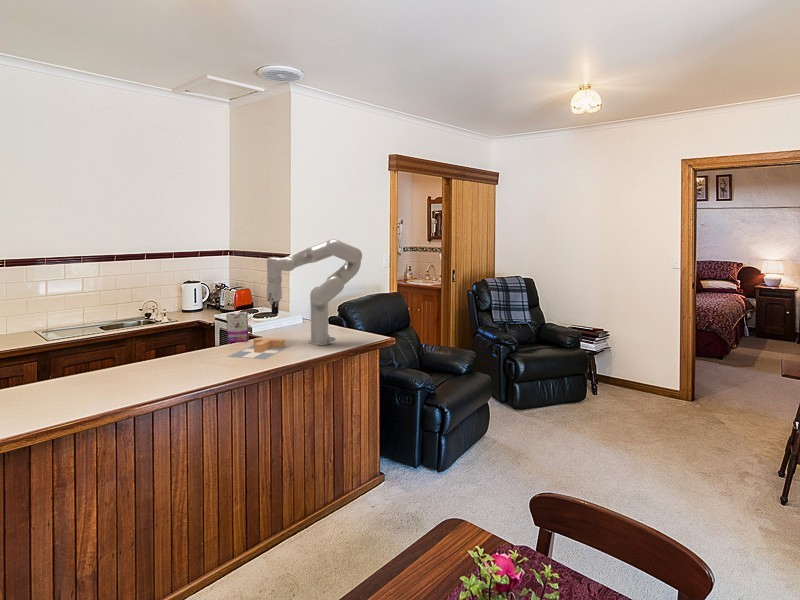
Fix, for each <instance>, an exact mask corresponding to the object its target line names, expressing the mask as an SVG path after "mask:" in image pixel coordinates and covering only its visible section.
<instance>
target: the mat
mask: <svg viewBox="0 0 800 600" xmlns="http://www.w3.org/2000/svg"><path fill="white" fill-rule="evenodd" d="M289 347H291V345H285V347H284V348H270V349H268V350H266V351H264V352H262V353H261V352H254V345H253V344H252V345H251V346H248V347H246V348H244V349H241V350H239V351H237V352H234V353H232V354H230V355H228V356H227V358H239V359H241V358H244V359H254V360H255V359H256V360H257V359H258V360H267V359H269V358H270V357H273V356H274V355H276V354H278V353H280V352H282V351H283V350H286V349H287V348H289Z"/></svg>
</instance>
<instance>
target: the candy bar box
mask: <svg viewBox="0 0 800 600" xmlns="http://www.w3.org/2000/svg"><path fill="white" fill-rule="evenodd" d="M248 315H249V314H248V312H247V311H245V312H243V311H241V312H227V313H226V333H227V334H226V335H227V337H226V338H227V339H226V341H227V344H235V343H248V342H249V319H248V318H249V317H248Z"/></svg>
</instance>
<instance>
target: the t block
mask: <svg viewBox="0 0 800 600" xmlns="http://www.w3.org/2000/svg"><path fill="white" fill-rule="evenodd" d="M252 341H253V344H252V345H254V352H261V353H262V352H264V351H266V350H268V349H270V348H284V347H285V346H286V345H285V344H286V339H283V338H282V339H281V338H279V339H278V338H265V337H264V338H263V337H256V338H253V340H252Z"/></svg>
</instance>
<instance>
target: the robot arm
mask: <svg viewBox="0 0 800 600" xmlns="http://www.w3.org/2000/svg"><path fill="white" fill-rule="evenodd" d="M333 256H334V257H335V258H338V259H341V260H343V261H345V262H344V264H343V265H342V266H341V267H339V269H337V270H336V271H335V272H333V273H332V274H330V275H329V276H328V277H327V278H326V281H324V282H323V283H322V284H320V285H319V286H314V288H313V289H312V290H311V291H310V295H309V297H310V340H308V343H307V344H309V345H312V346H327V345H330V344H331V343H332V342H336V337H334V336H332V337H331V335H330V334H329V302H331V301H332V300H333V299H334V298H335V297H337V296H338V295H339V294H340V293H341V292H342V291H343V290H344V288H345V286H346V285H347V283H349V282H350V280H351V279H353V278H355V276H356V275H357V273H358V272H359V271H360V269H361V264H362V260H363V253H362V250H360V249H359V248H357V247H355V246H352V245H350V244H348V243H345V242H342V241H341V240H338V239H336V238H334V239H333V238H332V239H329V240H326V241H324V242H321V243H319V244H316V245H313V246H311V247H308V248H306V249H303V250H300V251H298V252H296V253H292V254H289V255H288V256H285V257H278V256H275V257H274V256H270V257H267V258H266V275H267V276H266V277H267V278H266V279H267V281H266V282H267V283H266V284H267V285H266V297H265V298H266V302H268V303H269V305H270V307H271V314H272V315H278V314H279V305H280V302H281V300H282V298H283V292H282V291H283V290H282V271H283V272H284V271H285V272H291V271H293V270H294V269H296V268H298V267H302V266H304V265H307V264H313V263H314V264H315V263H317V262H320V261H323V260H325V259H328V258H331V257H333Z"/></svg>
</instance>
